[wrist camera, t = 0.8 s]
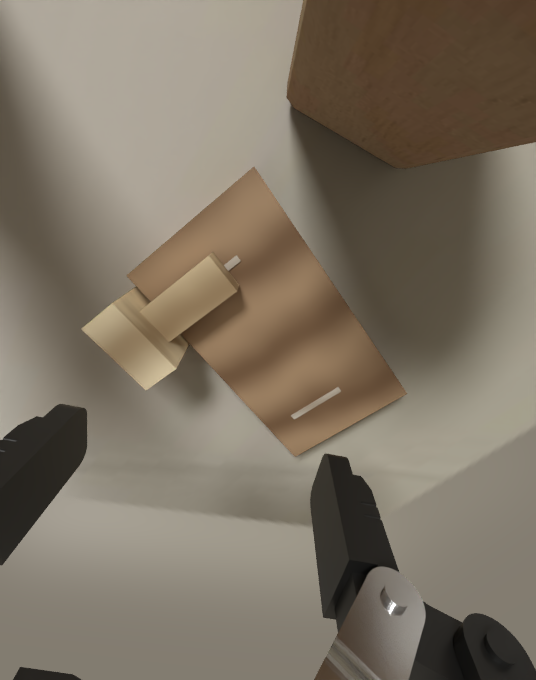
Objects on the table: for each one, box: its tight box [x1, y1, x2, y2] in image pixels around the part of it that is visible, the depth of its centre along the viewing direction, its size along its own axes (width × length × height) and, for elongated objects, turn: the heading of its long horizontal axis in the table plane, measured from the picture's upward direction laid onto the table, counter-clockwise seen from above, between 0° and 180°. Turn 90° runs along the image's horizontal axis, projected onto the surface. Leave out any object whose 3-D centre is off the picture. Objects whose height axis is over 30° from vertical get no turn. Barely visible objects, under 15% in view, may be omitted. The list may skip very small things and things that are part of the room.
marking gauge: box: [82, 252, 239, 390], centre depth 24 cm, size 6×10×6 cm, turn 127°
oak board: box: [127, 167, 407, 457], centre depth 27 cm, size 22×12×3 cm, turn 37°
